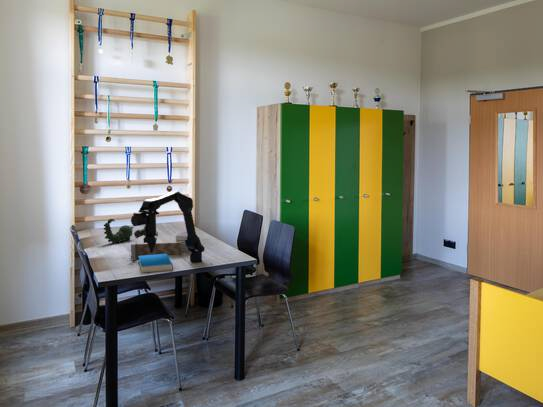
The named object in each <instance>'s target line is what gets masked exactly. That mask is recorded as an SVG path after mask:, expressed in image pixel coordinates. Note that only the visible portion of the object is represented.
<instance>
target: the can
mask: <svg viewBox="0 0 543 407" xmlns="http://www.w3.org/2000/svg"><path fill="white" fill-rule="evenodd" d="M174 236H175V242H181V254H190V253H191V251H188V248H187V246H185V245H186V243H185V239H186V238H187V231H179V232H176V233H175V235H174Z"/></svg>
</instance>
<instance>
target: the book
mask: <svg viewBox="0 0 543 407" xmlns="http://www.w3.org/2000/svg"><path fill="white" fill-rule="evenodd" d="M137 258H138V261H139V265H140V269H141V272H142V273H148V272H149V273H150V272H159V271H160V272H161V271H171V270H173V269H174V265H173V263H172V261H171V259H170V257H169V256H168V255H167V254H156V255H143V256H138V257H137Z"/></svg>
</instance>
